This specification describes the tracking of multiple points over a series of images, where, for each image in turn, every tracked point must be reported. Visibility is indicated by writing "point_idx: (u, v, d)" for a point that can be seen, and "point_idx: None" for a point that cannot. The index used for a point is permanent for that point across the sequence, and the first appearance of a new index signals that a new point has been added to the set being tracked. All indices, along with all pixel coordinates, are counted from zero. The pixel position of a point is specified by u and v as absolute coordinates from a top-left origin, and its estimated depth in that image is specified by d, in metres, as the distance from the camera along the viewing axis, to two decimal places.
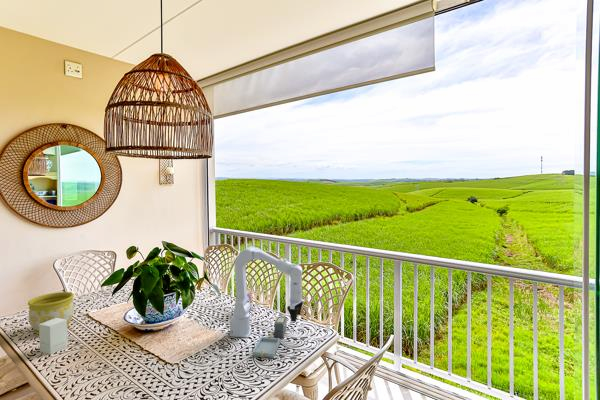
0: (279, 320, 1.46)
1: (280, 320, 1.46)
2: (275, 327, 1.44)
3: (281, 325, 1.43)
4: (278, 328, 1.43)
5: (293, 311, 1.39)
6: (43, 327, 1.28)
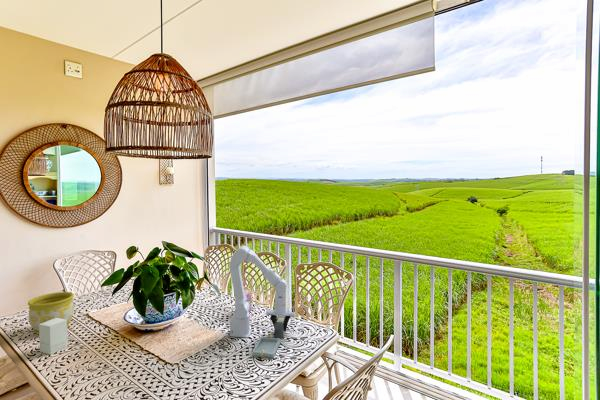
0: (279, 320, 1.46)
1: (280, 320, 1.46)
2: (275, 327, 1.43)
3: (281, 325, 1.43)
4: (278, 328, 1.43)
5: None
6: (43, 327, 1.28)
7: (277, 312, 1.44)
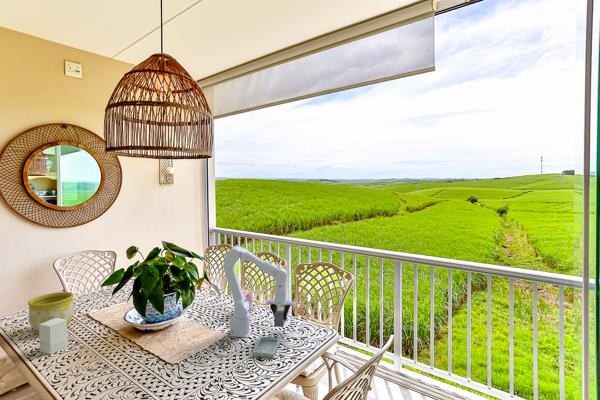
0: (279, 309, 1.46)
1: (280, 309, 1.46)
2: (275, 316, 1.43)
3: (281, 314, 1.43)
4: (278, 317, 1.43)
5: None
6: (43, 327, 1.28)
7: (277, 301, 1.44)
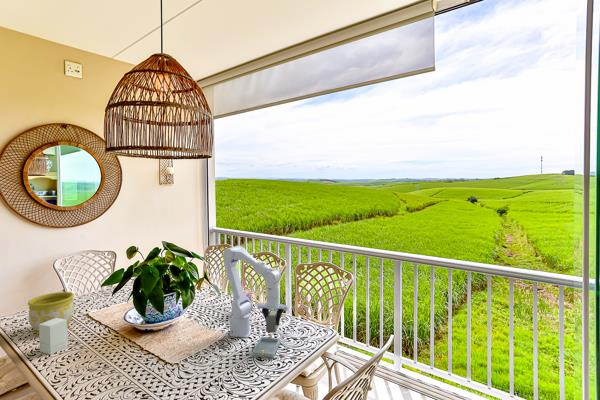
0: (271, 313, 1.38)
1: (272, 313, 1.38)
2: (267, 321, 1.35)
3: (273, 318, 1.34)
4: (270, 321, 1.35)
5: None
6: (43, 327, 1.28)
7: (269, 305, 1.36)
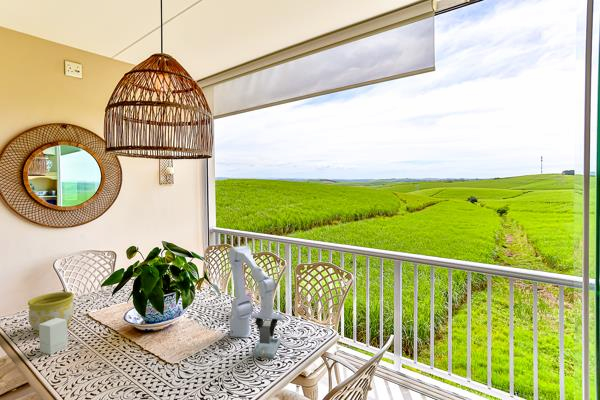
0: (265, 324, 1.32)
1: (266, 324, 1.32)
2: (260, 331, 1.29)
3: (267, 329, 1.29)
4: (264, 332, 1.29)
5: None
6: (43, 327, 1.28)
7: (263, 315, 1.30)
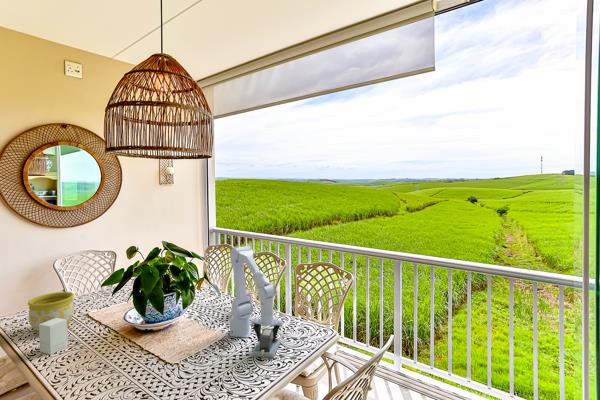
0: (265, 333, 1.32)
1: (266, 333, 1.32)
2: (260, 341, 1.29)
3: (267, 338, 1.29)
4: (264, 341, 1.29)
5: None
6: (43, 327, 1.28)
7: (263, 321, 1.30)
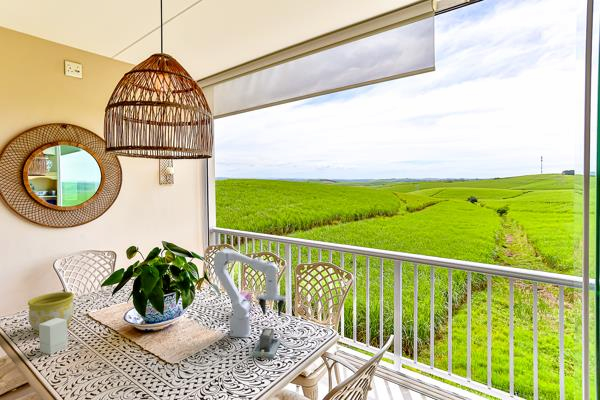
0: (265, 333, 1.32)
1: (266, 333, 1.32)
2: (260, 341, 1.29)
3: (267, 338, 1.29)
4: (264, 341, 1.29)
5: None
6: (43, 327, 1.28)
7: (268, 296, 1.43)
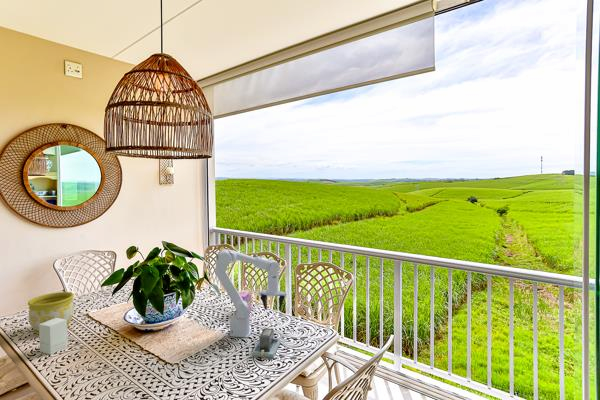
0: (265, 333, 1.32)
1: (266, 333, 1.32)
2: (260, 341, 1.29)
3: (267, 338, 1.29)
4: (264, 341, 1.29)
5: None
6: (43, 327, 1.28)
7: (269, 292, 1.49)
